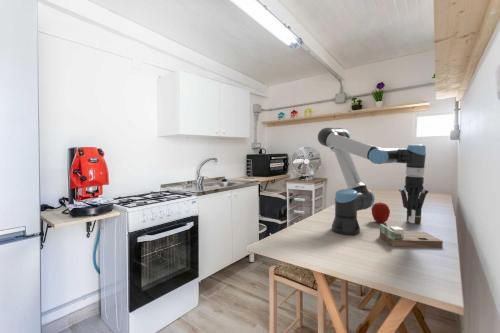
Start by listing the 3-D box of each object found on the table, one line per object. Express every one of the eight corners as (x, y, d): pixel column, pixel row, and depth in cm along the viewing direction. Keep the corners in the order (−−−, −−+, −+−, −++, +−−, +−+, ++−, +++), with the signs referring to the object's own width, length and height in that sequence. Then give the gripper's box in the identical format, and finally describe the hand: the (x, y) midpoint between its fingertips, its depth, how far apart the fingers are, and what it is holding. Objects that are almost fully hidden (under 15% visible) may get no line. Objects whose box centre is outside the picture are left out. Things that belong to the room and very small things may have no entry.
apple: (391, 222, 154) (392, 200, 153) (386, 225, 147) (386, 203, 146) (374, 219, 162) (375, 198, 161) (368, 222, 155) (369, 200, 154)
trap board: (379, 236, 129) (379, 223, 129) (424, 237, 128) (425, 224, 127) (392, 246, 116) (392, 232, 116) (442, 247, 115) (443, 232, 114)
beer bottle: (419, 224, 148) (420, 186, 147) (404, 222, 154) (405, 184, 153) (422, 222, 154) (424, 184, 152) (408, 219, 159) (409, 183, 158)
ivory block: (389, 234, 125) (389, 226, 124) (398, 234, 124) (398, 226, 124) (394, 237, 120) (394, 229, 120) (403, 237, 120) (403, 229, 119)
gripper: (405, 176, 116) (402, 224, 119) (433, 177, 116) (429, 225, 118) (396, 174, 124) (394, 219, 126) (423, 175, 123) (420, 220, 125)
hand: (411, 222), depth 122 cm, fingers closed
